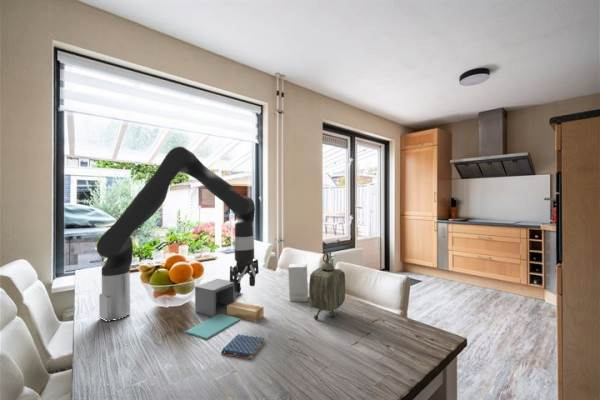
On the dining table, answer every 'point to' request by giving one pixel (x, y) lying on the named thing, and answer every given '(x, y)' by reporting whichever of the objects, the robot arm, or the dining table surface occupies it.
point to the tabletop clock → (327, 287)
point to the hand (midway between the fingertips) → (245, 289)
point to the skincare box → (298, 282)
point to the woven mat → (243, 346)
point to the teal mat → (212, 326)
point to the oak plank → (245, 311)
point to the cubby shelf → (213, 295)
